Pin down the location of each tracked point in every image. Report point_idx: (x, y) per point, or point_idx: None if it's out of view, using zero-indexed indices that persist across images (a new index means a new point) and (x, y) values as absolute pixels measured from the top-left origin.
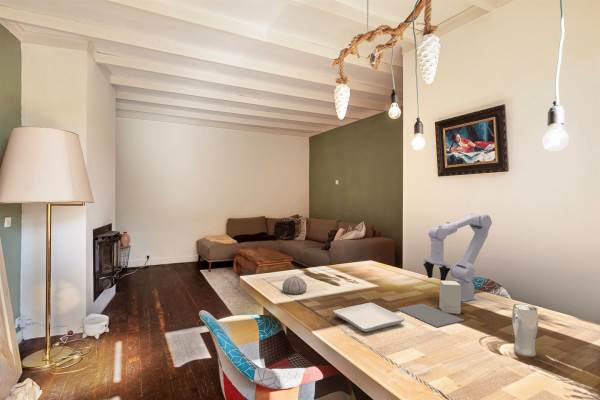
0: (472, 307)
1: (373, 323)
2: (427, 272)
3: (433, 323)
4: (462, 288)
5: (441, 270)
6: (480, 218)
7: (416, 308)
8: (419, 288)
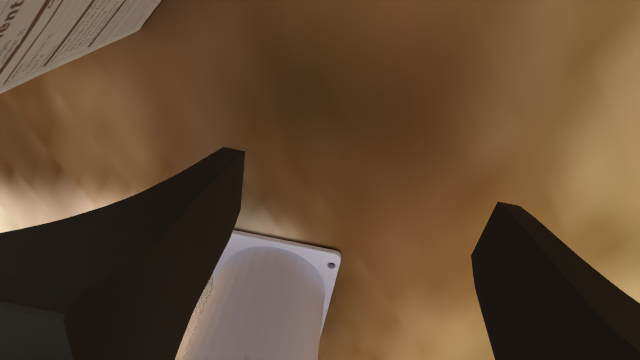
0: (106, 162)
1: None
2: (570, 262)
3: None
4: (210, 319)
5: (58, 246)
6: None
7: None
8: (633, 285)
